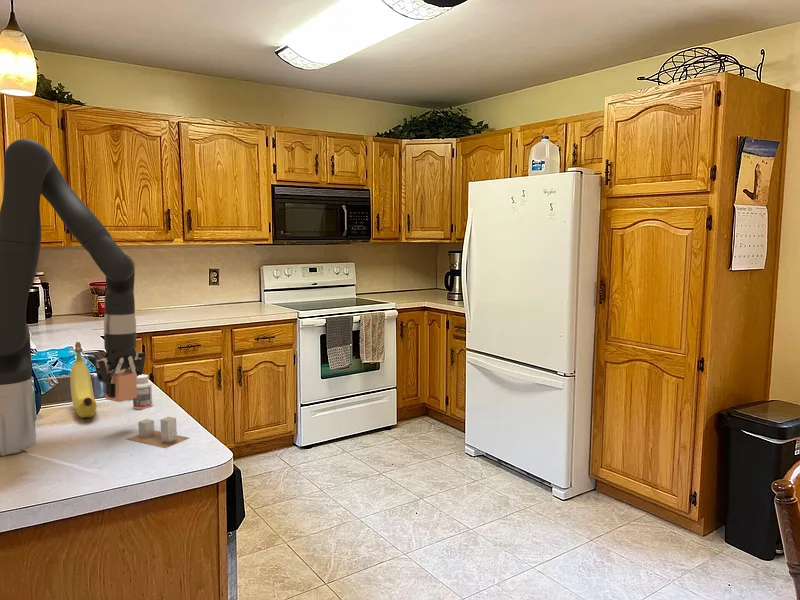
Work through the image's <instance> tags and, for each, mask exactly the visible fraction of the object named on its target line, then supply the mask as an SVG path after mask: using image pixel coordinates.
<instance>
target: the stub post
mask: <svg viewBox="0 0 800 600" xmlns="http://www.w3.org/2000/svg"><path fill="white" fill-rule="evenodd" d="M137 422H138V423H137V424H138V434H139V437H142V438H149V437H152V436H154V435H155V434H154V430H155V421H154V420H153V419H149V418H146V419H143V420H139V421H137Z"/></svg>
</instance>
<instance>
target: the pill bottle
mask: <svg viewBox="0 0 800 600" xmlns="http://www.w3.org/2000/svg"><path fill="white" fill-rule="evenodd" d="M152 392H153V390H152V383H151V382H150V381H149V375H148V374H142V375H139V376H137V398H133V399H132V404H133V405H132V406H133V409H135V410H145V409H149V408H152V407H153V394H152Z"/></svg>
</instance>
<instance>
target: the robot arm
mask: <svg viewBox="0 0 800 600" xmlns="http://www.w3.org/2000/svg"><path fill="white" fill-rule="evenodd" d="M3 162H4V164H3V166H4V167H3V168H4V169H3V171H4V177H3V196H2V201H1V206H0V456H2V457H5V456H7V455H12V454H18V453H22V452H25V449H28V448H31V447H33V446H35V445H37V434H36V433H37V432H36V430H37V429H36V419H35V418H36V417H35V404H34V403H35V402H34V392H33V377H32V350H31V349H32V348H31V347H32V346H31V334H30V328H29V325H28V323H27V306H28V299H29V294H30V290H31V289H32V285H33V282H34V280H35V276H36V272H37V269H38V263H39V259H40V251H41V246H42V221H41V207H40V204H41V195H42V196H43V197H44V199H45V200H46V201H47V202H48V203H49V205H50V206H51V207H52V208H53V210H54V211H55V212H56V214H57V215H58V217H59V218H60V220H61V221H62V223H63V224H64V225H65V227H66V228H67V229H68V231H69V232H70V233H71V235H72V236H73V237H74V238H75V239H76V240H77V242H78V243H79V244H80V245H81V247H82V248H83V249H84V250H86V252H87V253H88V254H89V255H90V257H91V259H92V260H93V261H94V263H95V264H96V266H97V267H98V268H99V269H100V271H101V272H102V273H103V274H104V276H105V288H106V290H105V295H104V319H103V337H104V338H103V342H104V343H103V344H104V345H103V346H104V350H105V355H104V357H103V358H101V359H95V360H94V361H93V363H94V368H95V374H96V377H97V379H98V382H99V383H100V382H101V383H105V395H106V394H107V396H108V397H110V398H114V397H115V376H117V375H118V374H119V372H120V370H122V369H123V370H124V371H125V372H127V371H128V372H131V373H132V372H133V373H136V378H137V376H139V375H144V374H143V373H144V367H145V362H146V356H147V354H146V353H145V352H140V351H136V348H137V319H136V311H135V309H136V306H135V305H136V304H135V302H136V301H135V294H134V291H135V290H134V289H135V288H134V287H135V275H136V273H135V272H136V270H135V267H136V266H135V262H134V260H133V259H132V258H131V256H129V255H128V254H125V252H124V251H123V250H122V249H121V248H120V246H119V245H118V244H117V243H116V242H115V240H114V239H113V237H112V235H111V233H110V232H109V231H108V229H107V228H106V227H105V226H104V224H103V223H102V222H101V221H100V219H98V217H97V216H96V215H95V214H94V213H93V212H92V210H91V209H90V208H89V207H88V206H87V205H86V204H85V203H84V202H83V201H82V199H81V198H80V197H79V196H78V195H77V194H76V193H75V191H74V190H73V189H72V187H71V186H70V185H69V183H68V182H67V181H66V179H65V178H64V176H63V174H62V173H61V172H60V169H59V168H58V166H57V164H56V162H55V160H54V158H53V156H52V154H51V152H50V151H49V150H48V149H47V148H46V147H45V146H44V145H42V144H41V143H39V142H38V141H36V140H33V139H31V138H20V139H16V140H14V141H13V142H12V143H10V144H9V145H8V146H7V147H6V149H5V153H4V158H3ZM134 359H135V362H134V363H133V361H134ZM110 375H112V376H111V379H110Z"/></svg>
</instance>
